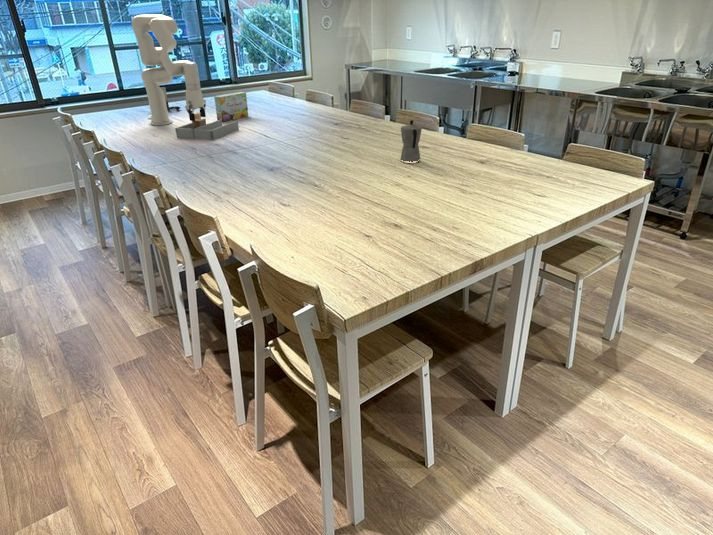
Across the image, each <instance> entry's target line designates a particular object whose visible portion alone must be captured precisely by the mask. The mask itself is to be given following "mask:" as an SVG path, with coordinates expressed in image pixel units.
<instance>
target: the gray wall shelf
mask: <svg viewBox="0 0 713 535" xmlns="http://www.w3.org/2000/svg"><path fill="white" fill-rule="evenodd" d="M204 119H205V121H206V122H207V120H206V118H204ZM239 130H240V127H239V120H234V121H231V122H229V123H227V124H224V125H223V122H222V120H217V119H216V120H215V121H212V122H209V123H206V125H203V126H200V127H198V128H195V129H194V127H193V122H192V121H191V122H190V123H187V124H183V125H181V126H178V127H175V134H176V138H180V139H191V140H204V141H215V140H217V139H219V138H221V137H224V136H227V135H229V134H232V133H234V132H236V131H239Z"/></svg>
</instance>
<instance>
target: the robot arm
mask: <svg viewBox="0 0 713 535" xmlns="http://www.w3.org/2000/svg"><path fill="white" fill-rule="evenodd" d="M131 28H132V30H133V34H134V35H135V38H136V41H137V45H138V51H139V52H138V53H139V57H140V60H141V63H142V64H143V65H144V66H149V67H150V66H159V67H150V68H149V67H148V68H146V69H143V70H142V71H141V79H142V82H143V85H144V87H145V91H146V96H147V100H148V103H149V104H148V105H149V110H150V114H151V115H149V116H148V118H147V119H148V120H150V125H152V126H165V125H170V124H172V123H173V120H172V119H170V117H169V116H170V115H169V110H168V111H167V106H166V101H165V96H164V92H163V90H162V89H161V88H160V87H161V85H162V86H163V85H167V84H171V83H172V82H173V77H180V76H184V77H183V78H184V82H185V88H186V89H185V103H186V104H185V105H184V108H185V110H186V112H187V113H188V116H189V117H188V118H189V121H191V122H192V121H195V115H194V113H193V112H194V111H195V110H197V109H199V113H200V116H201V118H206V117H207V116H206V106H207V105H206V104H207V101H206V99H204V95H203V92H202V88H201V83H200V82H201V81H200V75H199V67H198V64H197V63H196V62H195V61H190V60H187V59H183V60H171V58H170V55H169V53H170V52H171V51H173V50H174V49H175V48H176V46H177V40H176V39H175V37H174V36H173V35H176V34H177V33H178V30H179V27H178V24H177V22H176V20H175V19H174V18H173V17H171V16H167V15H164V14H139V15H136V16H134V17H133V18H132V20H131ZM149 32H152V33H153V35H154V37H155V38H156V40H157V42H158V44H159V46H155V42H154V39H153V37H152V35H151V34H150V33H149Z"/></svg>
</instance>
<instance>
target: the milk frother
mask: <svg viewBox="0 0 713 535" xmlns="http://www.w3.org/2000/svg"><path fill="white" fill-rule="evenodd" d="M159 87H160V88H161V89H162V90H163V92H164V96H165V101H166V106H167V111H168V112H169V111H171V110H173V111H174V110H175V111H180V109H181V106H169V101H168V96H167V90H166V87H161V86H159Z"/></svg>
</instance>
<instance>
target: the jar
mask: <svg viewBox="0 0 713 535" xmlns="http://www.w3.org/2000/svg"><path fill="white" fill-rule="evenodd" d="M193 113H194V115H195V120H196V119H202V117H201V116H200V111H196V112H193Z"/></svg>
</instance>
